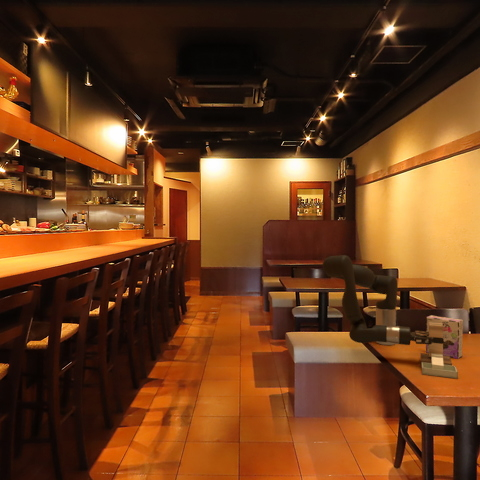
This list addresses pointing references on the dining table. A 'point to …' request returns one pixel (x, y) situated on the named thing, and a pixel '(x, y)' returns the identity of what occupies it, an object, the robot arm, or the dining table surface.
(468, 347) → the dining table surface
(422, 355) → the flat square baseboard
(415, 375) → the dining table surface
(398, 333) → the robot arm
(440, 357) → the tile
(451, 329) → the candy box
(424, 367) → the tray
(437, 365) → the tile
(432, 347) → the block
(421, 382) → the dining table surface
